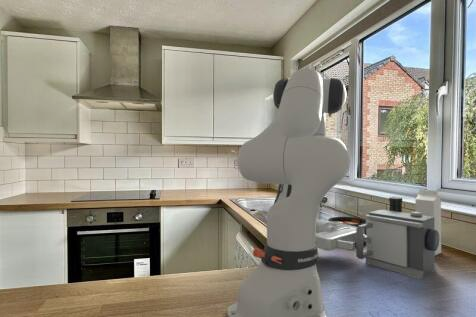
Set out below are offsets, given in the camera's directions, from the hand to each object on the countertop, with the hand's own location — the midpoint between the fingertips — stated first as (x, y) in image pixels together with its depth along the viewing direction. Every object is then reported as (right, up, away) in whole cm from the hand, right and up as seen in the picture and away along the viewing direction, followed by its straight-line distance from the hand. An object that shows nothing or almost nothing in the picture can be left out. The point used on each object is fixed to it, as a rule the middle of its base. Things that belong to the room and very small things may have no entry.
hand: (362, 243), depth 90 cm
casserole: (+7, -8, +31) cm, 33 cm away
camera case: (+13, -8, +2) cm, 15 cm away
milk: (+30, -8, +16) cm, 34 cm away
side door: (+5, -6, -1) cm, 8 cm away
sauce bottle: (+17, -8, +14) cm, 23 cm away
